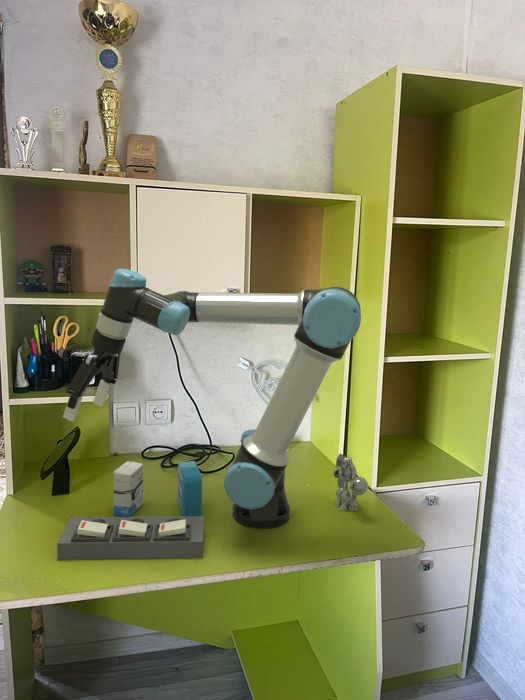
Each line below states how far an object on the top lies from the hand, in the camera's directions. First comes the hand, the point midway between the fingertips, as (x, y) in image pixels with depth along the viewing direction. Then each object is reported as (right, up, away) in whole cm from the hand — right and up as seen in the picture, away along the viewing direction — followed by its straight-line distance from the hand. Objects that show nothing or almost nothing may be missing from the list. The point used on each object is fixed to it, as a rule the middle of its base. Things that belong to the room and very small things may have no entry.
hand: (83, 411), depth 135 cm
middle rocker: (+14, -26, -9) cm, 31 cm away
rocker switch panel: (+14, -31, -6) cm, 34 cm away
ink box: (+8, -27, +12) cm, 31 cm away
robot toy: (+67, -29, +16) cm, 75 cm away
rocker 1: (+5, -26, -10) cm, 28 cm away
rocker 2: (+23, -26, -8) cm, 36 cm away
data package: (+24, -28, +12) cm, 39 cm away
